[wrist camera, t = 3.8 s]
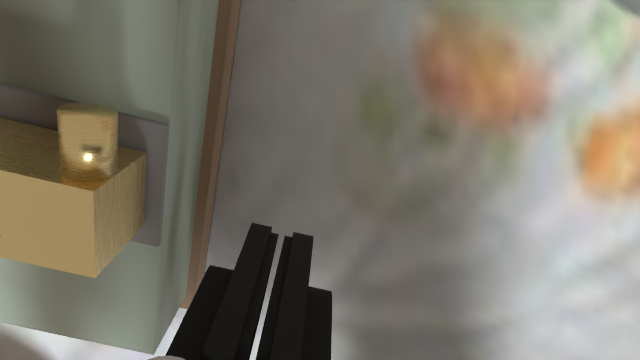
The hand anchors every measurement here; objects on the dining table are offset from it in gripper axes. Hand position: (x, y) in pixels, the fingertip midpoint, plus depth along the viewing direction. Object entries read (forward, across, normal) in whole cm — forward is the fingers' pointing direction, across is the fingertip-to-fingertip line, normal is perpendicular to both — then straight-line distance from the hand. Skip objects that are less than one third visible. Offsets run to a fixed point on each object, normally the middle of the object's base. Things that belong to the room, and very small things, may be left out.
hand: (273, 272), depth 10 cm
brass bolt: (+4, +8, 0) cm, 9 cm away
